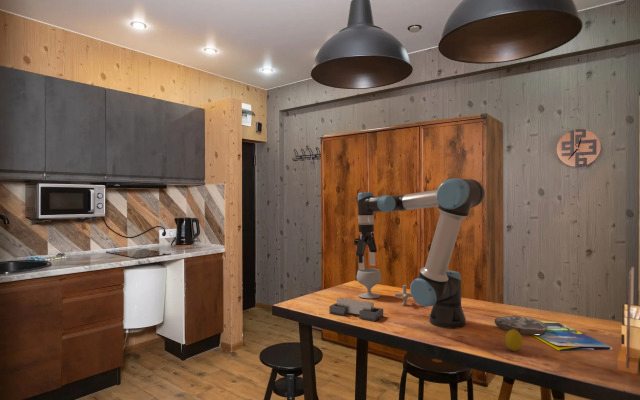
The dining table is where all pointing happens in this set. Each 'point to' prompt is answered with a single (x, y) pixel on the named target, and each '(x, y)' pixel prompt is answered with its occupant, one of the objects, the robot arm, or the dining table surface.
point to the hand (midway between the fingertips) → (367, 267)
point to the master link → (355, 305)
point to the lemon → (513, 340)
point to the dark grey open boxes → (362, 314)
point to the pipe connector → (403, 295)
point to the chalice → (369, 281)
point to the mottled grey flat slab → (521, 324)
